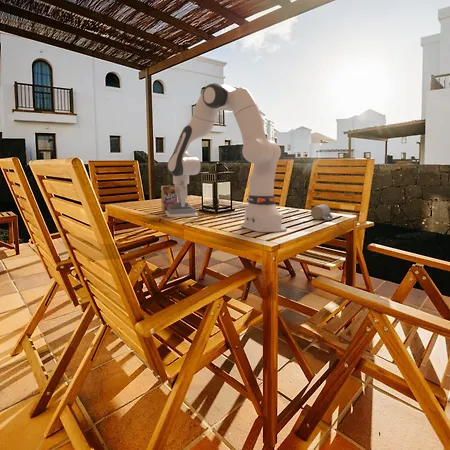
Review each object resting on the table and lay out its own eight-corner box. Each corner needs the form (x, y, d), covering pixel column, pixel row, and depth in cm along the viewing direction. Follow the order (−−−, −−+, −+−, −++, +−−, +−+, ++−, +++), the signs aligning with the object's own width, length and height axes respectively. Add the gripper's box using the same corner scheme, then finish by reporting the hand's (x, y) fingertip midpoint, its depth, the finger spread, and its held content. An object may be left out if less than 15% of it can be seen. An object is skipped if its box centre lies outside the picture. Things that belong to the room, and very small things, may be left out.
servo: (190, 212, 188) (190, 202, 186) (173, 213, 185) (173, 202, 184) (188, 211, 192) (188, 201, 191) (172, 212, 189) (172, 201, 188)
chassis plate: (198, 216, 183) (198, 209, 183) (168, 217, 179) (168, 210, 178) (192, 212, 198) (192, 205, 198) (165, 213, 194) (165, 206, 193)
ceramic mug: (309, 219, 176) (310, 204, 175) (317, 217, 182) (318, 203, 181) (328, 222, 169) (329, 206, 168) (335, 220, 175) (336, 205, 173)
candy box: (162, 212, 197) (162, 186, 194) (161, 211, 201) (160, 185, 198) (177, 211, 200) (177, 185, 198) (175, 210, 204) (175, 185, 201)
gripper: (190, 181, 176) (190, 207, 179) (183, 180, 196) (184, 203, 198) (178, 181, 175) (178, 208, 177) (173, 180, 194) (173, 203, 196)
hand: (181, 205), depth 188 cm, fingers open, 8 cm apart
